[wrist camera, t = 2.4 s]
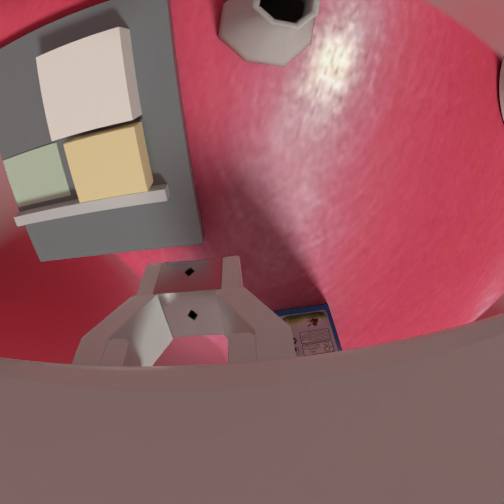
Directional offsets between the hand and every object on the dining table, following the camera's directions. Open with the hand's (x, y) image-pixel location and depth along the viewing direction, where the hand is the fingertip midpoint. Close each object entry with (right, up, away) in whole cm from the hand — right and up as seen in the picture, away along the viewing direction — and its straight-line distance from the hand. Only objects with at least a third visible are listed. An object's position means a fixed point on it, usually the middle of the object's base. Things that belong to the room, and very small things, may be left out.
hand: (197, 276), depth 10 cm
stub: (-9, +8, +13) cm, 18 cm away
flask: (+3, +18, +9) cm, 20 cm away
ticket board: (-12, +10, +13) cm, 21 cm away
